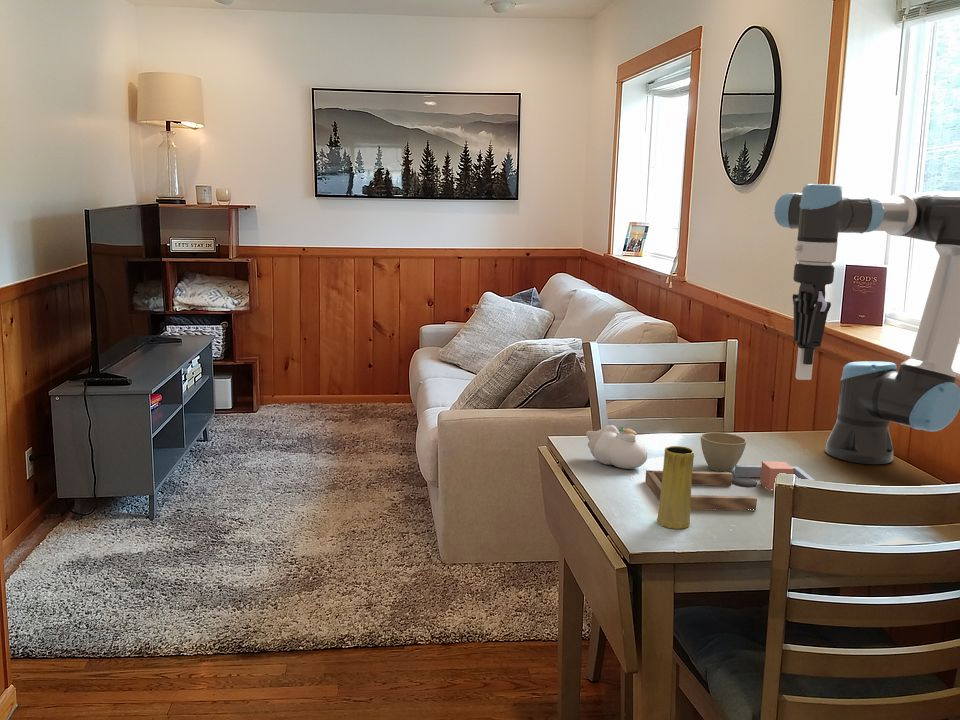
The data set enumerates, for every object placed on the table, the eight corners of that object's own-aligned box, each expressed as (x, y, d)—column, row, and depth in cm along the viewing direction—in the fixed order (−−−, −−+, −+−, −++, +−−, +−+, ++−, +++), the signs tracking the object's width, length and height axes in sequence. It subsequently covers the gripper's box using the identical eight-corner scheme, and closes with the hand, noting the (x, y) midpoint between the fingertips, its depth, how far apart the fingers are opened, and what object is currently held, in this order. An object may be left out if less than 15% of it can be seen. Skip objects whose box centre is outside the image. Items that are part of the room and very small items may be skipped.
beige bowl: (745, 477, 199) (748, 445, 198) (698, 472, 201) (701, 441, 200) (741, 464, 209) (744, 434, 208) (697, 460, 211) (699, 430, 209)
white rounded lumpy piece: (653, 430, 199) (592, 411, 207) (636, 455, 194) (575, 434, 202) (655, 460, 205) (596, 440, 213) (639, 484, 200) (580, 463, 208)
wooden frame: (729, 483, 194) (730, 472, 194) (755, 510, 178) (757, 498, 178) (645, 481, 193) (646, 470, 193) (664, 508, 177) (665, 496, 177)
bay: (796, 476, 201) (797, 466, 201) (815, 492, 191) (816, 481, 191) (734, 475, 200) (735, 465, 200) (749, 490, 190) (750, 479, 190)
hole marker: (752, 479, 198) (752, 477, 198) (760, 487, 193) (761, 485, 193) (727, 478, 198) (727, 477, 198) (735, 486, 193) (736, 485, 193)
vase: (695, 523, 170) (702, 450, 167) (679, 532, 165) (686, 456, 163) (667, 515, 174) (673, 443, 171) (650, 523, 169) (656, 449, 167)
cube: (782, 484, 196) (784, 461, 195) (791, 491, 191) (794, 468, 190) (759, 483, 196) (762, 461, 195) (768, 491, 191) (770, 468, 190)
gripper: (783, 259, 187) (773, 372, 191) (810, 265, 174) (798, 386, 178) (819, 260, 187) (807, 372, 192) (848, 266, 174) (835, 386, 179)
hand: (803, 378), depth 185 cm, fingers closed
